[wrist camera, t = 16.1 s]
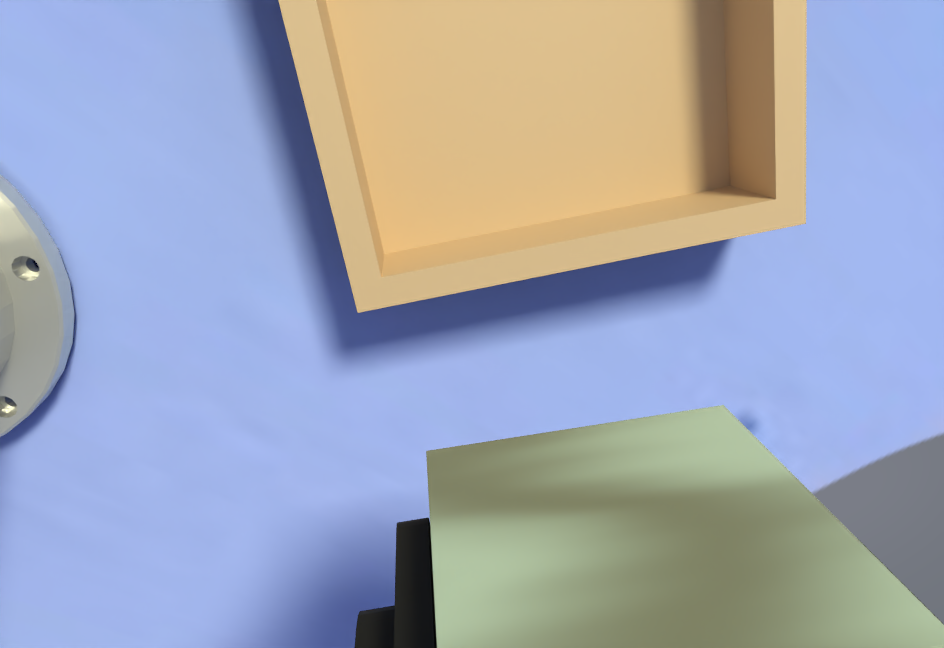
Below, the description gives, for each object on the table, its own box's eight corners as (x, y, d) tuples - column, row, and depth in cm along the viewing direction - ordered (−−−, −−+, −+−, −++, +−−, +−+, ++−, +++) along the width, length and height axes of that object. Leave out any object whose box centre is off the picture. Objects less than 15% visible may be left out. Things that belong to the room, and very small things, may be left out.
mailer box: (364, 279, 25) (357, 312, 21) (249, -193, 20) (212, -260, 16) (746, 203, 25) (805, 223, 22) (732, -278, 20) (807, -362, 16)
